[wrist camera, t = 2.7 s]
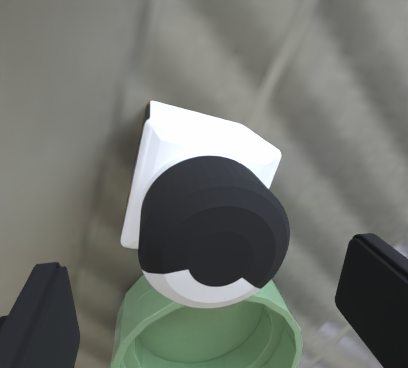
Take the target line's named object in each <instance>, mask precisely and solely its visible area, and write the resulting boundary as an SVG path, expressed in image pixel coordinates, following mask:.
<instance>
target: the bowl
mask: <svg viewBox="0 0 408 368" xmlns="http://www.w3.org/2000/svg"><path fill="white" fill-rule="evenodd" d="M302 350H303V345H302V336H301V329H300V327H299V325H298V323H297V321H296V320H295V318H294V316H293V314H292V312H291V311H290V309H289V307H288V305H287V304H286V302H285V300H284V298H283V296H282V295H281V293H280V291H279V289H278V287H277V286H276V284H275V283H274V281H273V280H272V279H271V280H270V281H269V282H268V283H267V284H266V285H265V286H264V287H263V288H262V289H260V290H259V291H258V292H256V293H255V294H253V295H252V296H250V297H248V298H246V299H244V300H242V301H240V302H238V303H235V304H231V305H228V306H224V307H218V308H195V307H189V306H185V305H182V304H180V303H177V302H174V301H172V300H170V299H169V298H167V297H165V296H163V295H162V294H161V293H159V292H158V291H157V290H156V289H155V288H154V287H153V286H152V285H151V284H150V283H149V282H148V280H147V279H146V277H145V275H144V274H143V275H142V276H141V277H140V278H139V279H138V280H137V282H136V283H135V284H134V285H133V286H132V287H131V288H130V289H129V290H128V292H127V293H126V294H125V296H124V299H123V301H122V304H121V306H120V309H119V311H118V313H117V320H116V327H115V335H114V342H113V350H112V357H111V365H110V368H297V367H298V363H299V360H300V357H301V354H302Z"/></svg>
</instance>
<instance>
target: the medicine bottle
mask: <svg viewBox="0 0 408 368" xmlns="http://www.w3.org/2000/svg"><path fill="white" fill-rule="evenodd" d="M280 159H281V153H280V151H279V150H278V149H277V148H275V147H274V146H272V145H271V144H270V143H268V142H267V141H265V140H264V139H262V138H261V137H259V136H258V135H257V134H255V133H254V132H252V131H251V130H249V129H248V128H247V127H245V126H244V125H242V124H239V123H235V122H231V121H228V120H224V119H220V118H216V117H212V116H209V115H205V114H201V113H197V112H194V111H190V110H186V109H182V108H178V107H175V106H171V105H167V104H163V103H160V102H156V101H149V102H148V103H147V105H146V110H145V115H144V120H143V125H142V130H141V135H140V140H139V144H138V149H137V154H136V159H135V164H134V169H133V174H132V178H131V183H130V188H129V193H128V199H127V205H126V211H125V217H124V223H123V229H122V235H121V244H122V245H123V247H126V248H133V249H138V256H139V262H140V266H141V269H142V271H143V273H144V275H145V277H146V279H147V280H148V282H149V283H150V284H151V285H152V286H153V287H154V288H155V289H156V290H157V291H158V292H159V293H161V294H162V295H163V296H165V297H167V298H169V299H170V300H172V301H174V302H177V303H180V304H182V305H185V306H189V307H195V308H218V307H224V306H228V305H231V304H235V303H238V302H240V301H242V300H244V299H246V298H248V297H250V296H252V295H253V294H255V293H256V292H258V291H259V290H260V289H262V288H263V287H264V286H265V285H266V284H267V283H268V282H269V281H270V280H271V279H272V278H273V277H274V275H275V274H276V272H277V271H278V269H279V268H280V266H281V264H282V262H283V260H284V258H285V255H286V252H287V250H288V245H289V239H290V228H289V221H288V218H287V214H286V212H285V210H284V208H283V206H282V205H281V203H280V202H279V200H278V199H277V198H276V197H275V196H274V195H273V194H272V192H271V191H270V190H269V187H270V185H271V182H272V180H273V177H274V174H275V172H276V169H277V167H278V164H279V161H280Z"/></svg>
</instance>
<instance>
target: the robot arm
mask: <svg viewBox="0 0 408 368" xmlns="http://www.w3.org/2000/svg"><path fill="white" fill-rule="evenodd" d="M335 303H336V306H337V308H338V309H339V311H340V312H341V313H342V315H343V316H344V317H345V319H346V320H347V321H348V322H349V324H350V325H351V326H352V328H353V329H354V330H355V331H356V333H357V334H358V335H359V337H360V338H361V339H362V340H363V342H364V343H365V344H366V346H367V347H368V348H369V349H370V351H371V352H372V353H373V355H374V356H375V357H376V358H377V360H378V361H379V362H380V364H381V365H382V366H383V367H384V368H408V259H407V258H406V257H404V256H403V255H402V254H400V253H399V252H398V251H397V250H395V249H394V248H393V247H391V246H390V245H389V244H387V243H386V242H385V241H383V240H382V239H381V238H379V237H378V236H377V235H375V234H373V233H368V234H357V235H355V236H354V237H353V239H352V240H350V242H349V244H348V248H347V252H346V256H345V260H344V264H343V268H342V272H341V276H340V280H339V284H338V288H337V292H336V296H335ZM79 343H80V331H79V326H78V321H77V316H76V311H75V306H74V301H73V296H72V291H71V286H70V281H69V276H68V271H67V268H66V267H60V264H59V263H58V262H55V263H44V264H37V265H35V267H34V268H33V270H32V272H31V274H30V276H29V278H28V280H27V281H26V283H25V285H24V287H23V289H22V291H21V293H20V294H19V296H18V298H17V300H16V302H15V304H14V306H13V307H12V309H11V311H10V313H9V315H8V316H2V317H1V318H0V368H74V365H75V361H76V357H77V352H78V348H79Z"/></svg>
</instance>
